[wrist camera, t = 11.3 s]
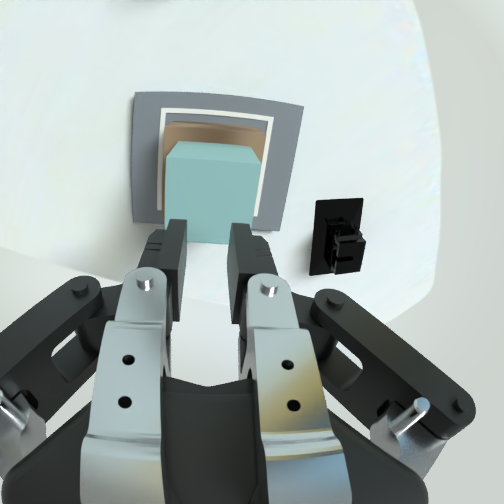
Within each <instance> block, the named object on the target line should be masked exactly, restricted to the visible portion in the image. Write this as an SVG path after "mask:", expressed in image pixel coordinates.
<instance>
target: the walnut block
mask: <svg viewBox="0 0 504 504" xmlns="http://www.w3.org/2000/svg"><path fill="white" fill-rule="evenodd" d="M178 141H190V142H206V143H219V144H230V145H240V146H250V147H251V148H252V149H253V151H254V153H255V154H256V156H257V158H258V159H259V161H260V163H261V164H262V159H263V153H264V147H265V141H266V134H265V133H264V132H263V131H262V130H260V129H259V128H256V127H248V126H239V125H229V124H218V123H205V122H187V121H173V122H171V123H170V124H168V125H167V126H165V130H164V146H163V167H162V218H164V219H165V174H166V157H167V155H168V154H169V153H170V152H171V150H172V149H173V148H174V146H175V145H176V144H177V142H178ZM261 166H262V165H261ZM260 172H261V171H260ZM259 178H260V177H259ZM257 191H258V190H257ZM256 197H257V196H256ZM255 203H256V202H255ZM254 209H255V208H254ZM253 216H254V215H253ZM252 222H253V221H252Z"/></svg>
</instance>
